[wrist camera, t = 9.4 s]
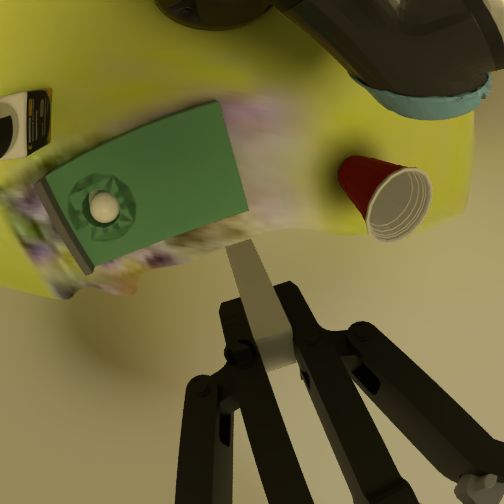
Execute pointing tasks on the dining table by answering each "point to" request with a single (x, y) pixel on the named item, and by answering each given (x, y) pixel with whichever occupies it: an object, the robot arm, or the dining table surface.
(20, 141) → the medicine bottle
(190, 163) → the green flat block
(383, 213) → the plastic cup
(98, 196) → the ball
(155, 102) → the dining table surface
